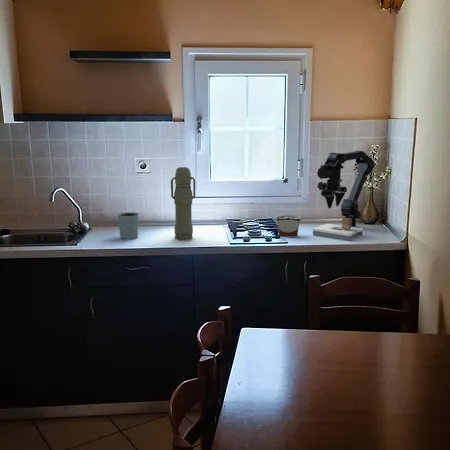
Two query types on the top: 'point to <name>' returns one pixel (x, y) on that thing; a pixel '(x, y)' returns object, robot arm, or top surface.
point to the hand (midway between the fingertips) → (333, 207)
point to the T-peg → (346, 223)
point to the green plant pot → (128, 225)
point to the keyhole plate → (336, 232)
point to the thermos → (183, 203)
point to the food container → (288, 225)
